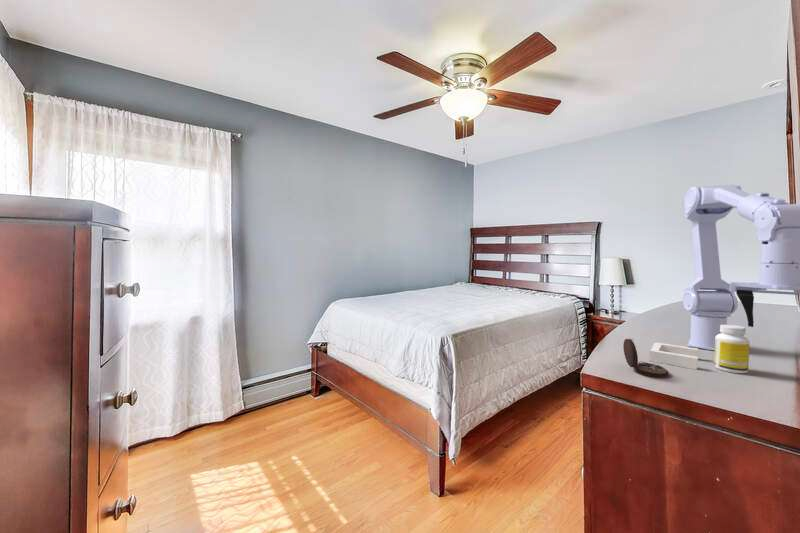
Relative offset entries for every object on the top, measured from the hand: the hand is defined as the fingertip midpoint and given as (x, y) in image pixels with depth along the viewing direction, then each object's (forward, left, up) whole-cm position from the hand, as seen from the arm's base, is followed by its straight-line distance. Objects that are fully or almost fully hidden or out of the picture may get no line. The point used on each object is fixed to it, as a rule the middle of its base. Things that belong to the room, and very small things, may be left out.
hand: (777, 328), depth 68 cm
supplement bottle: (-1, -6, -11) cm, 12 cm away
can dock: (-1, -15, -10) cm, 19 cm away
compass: (+13, -20, -11) cm, 26 cm away
